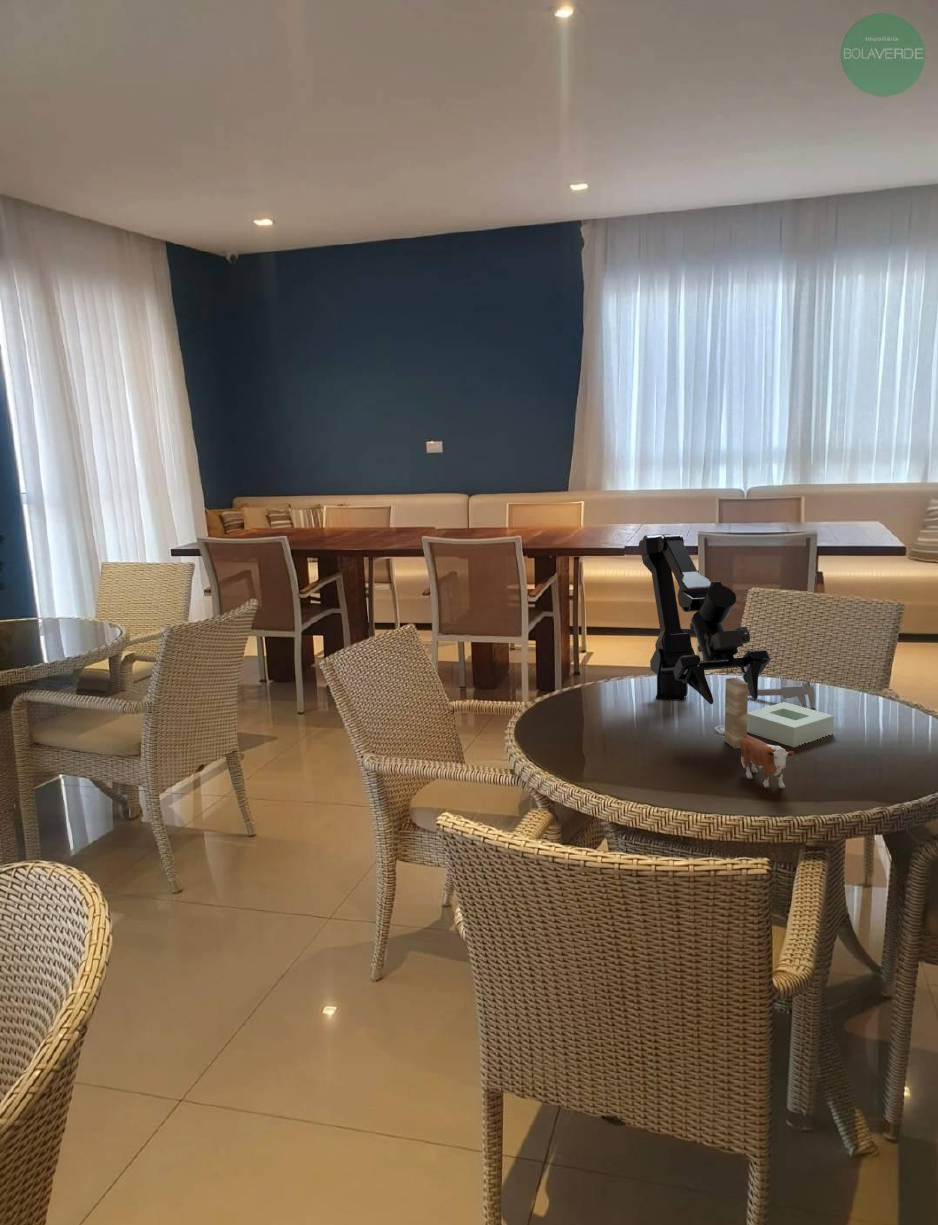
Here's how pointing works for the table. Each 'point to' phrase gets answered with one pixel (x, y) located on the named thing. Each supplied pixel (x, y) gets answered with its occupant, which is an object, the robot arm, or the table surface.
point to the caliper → (791, 693)
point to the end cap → (789, 724)
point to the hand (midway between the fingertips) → (734, 701)
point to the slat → (735, 711)
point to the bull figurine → (763, 758)
